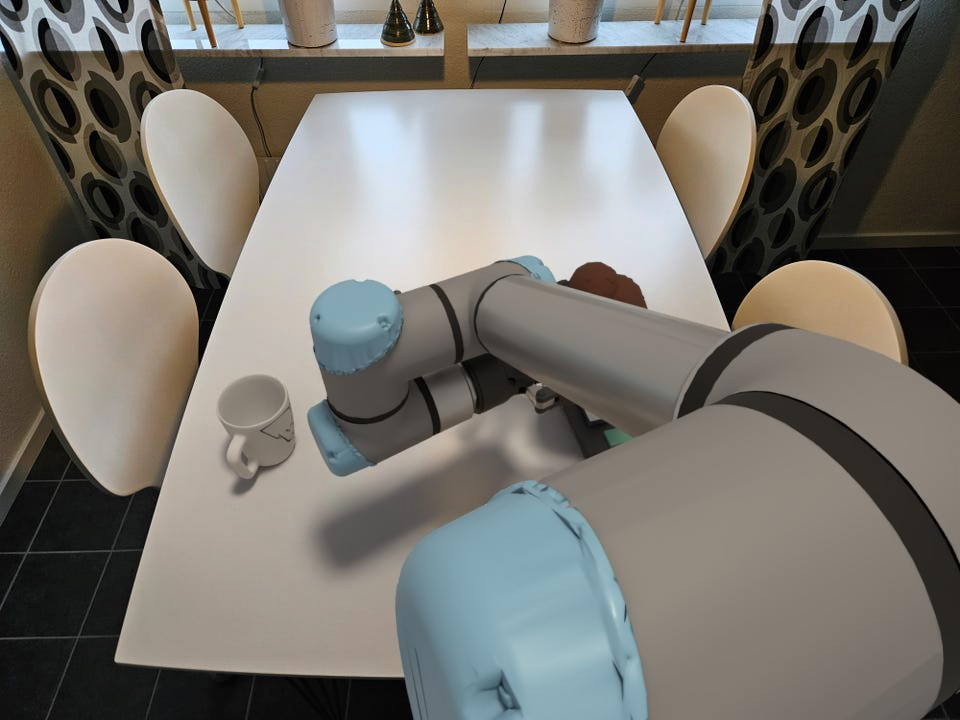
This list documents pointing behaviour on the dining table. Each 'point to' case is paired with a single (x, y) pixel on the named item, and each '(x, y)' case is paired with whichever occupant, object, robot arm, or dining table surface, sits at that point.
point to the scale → (593, 432)
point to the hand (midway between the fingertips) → (626, 309)
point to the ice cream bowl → (606, 284)
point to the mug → (256, 422)
